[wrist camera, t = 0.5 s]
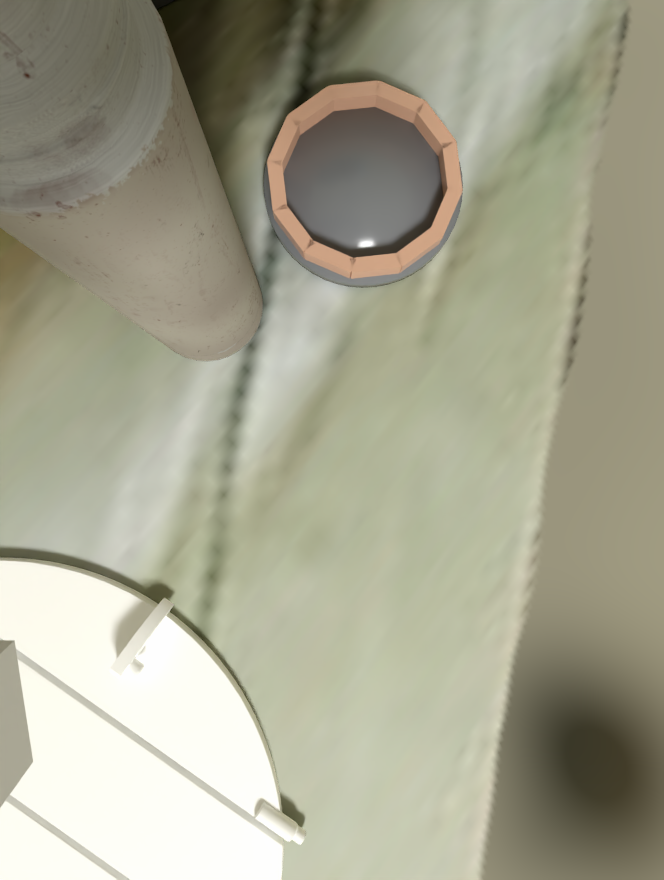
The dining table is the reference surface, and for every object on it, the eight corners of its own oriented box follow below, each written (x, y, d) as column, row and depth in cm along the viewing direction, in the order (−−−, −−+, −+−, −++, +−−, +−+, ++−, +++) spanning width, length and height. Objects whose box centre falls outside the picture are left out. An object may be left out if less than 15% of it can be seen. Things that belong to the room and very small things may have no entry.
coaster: (254, 106, 37) (250, 86, 35) (446, 86, 37) (453, 65, 35) (277, 297, 37) (274, 288, 35) (471, 276, 37) (479, 266, 35)
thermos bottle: (132, 277, 36) (-499, -322, 8) (235, 232, 37) (-42, -493, 9) (177, 379, 36) (-315, 117, 8) (280, 334, 36) (147, -69, 8)
